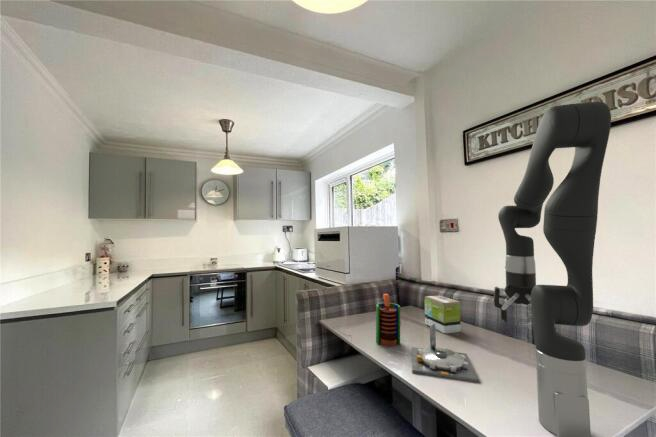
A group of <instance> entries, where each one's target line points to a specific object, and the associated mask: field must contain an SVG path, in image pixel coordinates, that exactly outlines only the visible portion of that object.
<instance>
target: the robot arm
mask: <svg viewBox="0 0 656 437" xmlns="http://www.w3.org/2000/svg"><path fill="white" fill-rule="evenodd" d="M611 128H612V113H611V110H610V108H609V105H608V104H607V103H605V102H602V101H590V102H589V101H588V102H579V103H571V104H568V103H567V104H560V105H559V104H558V105H556V106H553V107H550V108H549V109H547V110H546V111H545V113H544V114H543V115H542V117H541V119H540V121H539V123H538V126H537V129H536V132H535V136H534V138H533V143H532V145H531V146H532V147H531V149H530V154H529V156H528V162H527V165H526V169H525V173H524V175H523V178H522V180H521V182H520V183H519V186H518V188H517V189H516V192H515V194H514V197H513V201H514V204H515V205H505V206H502V207H501V208H500V210H499V211H498V214H497V215H498V216H497V217H498V222H499V224H500V227H501V230H502V233H503V236H504V240H505V253H506V254H505V265H504V269H505V288H503V287H502V288H501V287H498V286H494V287H493V288H494V289H493V290H494V292H493V305H494V307H495V308H498V309H500V318H501V320H502V321H503V323H508V317H507V316H508V315H507V314H508V312H507V309H508V308H509V306H511V305H512V304H513V303H514V304H515V305H520V304H521V305H526V306H529V305H531V313H532V324H533V326H532V327H533V336H534V341H535V342H534V343H535V345H534V346H535V365H536V368H535V370H536V387H537V388H536V389H537V392H536V393H537V407H538V411H537V412H538V421H539V422H538V423H540V424H541V426H542V427H544V428H545V429H546V430H547V431H549V432H550V433H552V434H554V435H555V437H592V433H591V417H590V402H589V401H590V400H589V395H588V394H589V393H588V378H587V377H588V376H587V361H586V358H587V357H586V349H585V346H584V345H583V344H582V343H580V342H579V341H577V340H575V339H573V338H570V337H567V336H565V335H562V334H560V333H558V332H557V331H556V325H562V326H572V327H586V326H588V325H589V324H590V323H591V321H592V318H593V314H594V290H593V288H594V284H593V283H594V282H593V265H594V264H593V263H594V262H593V261H594V249H595V240H596V233H597V226H598V213H599V212H598V211H599V196H600V195H599V194H600V186H601V176H602V170H603V166H604V161H605V156H606V151H607V147H608V142H609V137H610V133H611ZM566 148H567V149H569V148H574V156H573V160H572V164H571V167H570V169H569V171H568V173H567V175H566V176H565V178H564V179H563V180H562V181H561V182H560V184H559V185H557V187H556V188H555V190H554V191H553V192H552V190H553V188H554V183H555V181H554V180H555V178H554V175H553V172H552V169H551V166H550V163H549V162H550V161H549V160H550V158H551V155H552V154H553V152H554V151H555V150H556V149H566ZM551 192H552V193H551ZM550 193H551V195H550ZM548 196H549V198H548ZM547 198H548V199H547ZM546 200H547V201H546ZM545 201H546V204H544V203H545ZM543 206H544V210H543ZM542 210H543V213H544V214H543V225H542V227H543V228H542V229H543V230H542V232H543V235H544V237H545V239H546V240H547V242H548V243H549V245H550V247H551V248H552V250H554V252H555V253H556V255H557V256H558V257H559V259H560V260H561V262H562V264H563V265H564V267H565V271H566V273H567V274H566V275H567V284H566V285H555V284H537V274H536V272H537V271H536V261H535V260H536V259H535V244H534V239H533V238H532V237H530V236H527V235H521V234H519V233H518V232H517V230H516V229H532V228H534V227H536V226H538V225H539V223H540V222H541V219H542ZM503 293H504V294H506V296H507V297H506V298H505V299H504V301H503V302H502V303H500V296H502V295H503Z"/></svg>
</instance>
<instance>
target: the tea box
mask: <svg viewBox="0 0 656 437" xmlns="http://www.w3.org/2000/svg"><path fill="white" fill-rule="evenodd" d="M461 323H462V322H461V301H459V300H455V299H452V298H448V297H447V296H442V295H427V296H424V324H425V325H427V326H429V327H430V324H435V330H437V331H438V332H441V333H443V334H444V333H446V334H451V333H452V334H455V333H460V332H461V330H462V329H461V327H462V326H461Z"/></svg>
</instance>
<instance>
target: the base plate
mask: <svg viewBox="0 0 656 437" xmlns="http://www.w3.org/2000/svg"><path fill="white" fill-rule="evenodd" d="M424 348H425V347H413V346H411V369H412V370H411V372H412V374H416V375H417V374H418V375H426V376H430V377H431V376H433V377H438V378H447V379H453V380H460V381H466V382H473V383H474V382H475V383H480V378H479V375H478V373H477V371H476V369H475V367H474V366H473V364H472V362H471V360H470V357H469V356H468V354H467V352H466V353H465V352H456V351H455V352H456V353H458V354H463V355H464V356H466V361H465V362H468V368H467V369H465V368H462V369H459V370H456V372H451V371H450V370H442V369H437V368H436V369H432V368H429V366H428V365H426V364H424V363H423V362H418V360H417V355H419V354H417V349H424Z"/></svg>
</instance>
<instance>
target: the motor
mask: <svg viewBox="0 0 656 437" xmlns="http://www.w3.org/2000/svg"><path fill="white" fill-rule="evenodd" d="M382 299H383V300H384V302H378V303H376V304H375V305H376V306H375V310H376V311H375V321H376V322H375V343H376V344H377V345H382V346H386V347H394V346H397V345H401V306H400V305H399V304H396V303H393V302H390V295H389V294H388V293H383V294H382Z"/></svg>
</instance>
